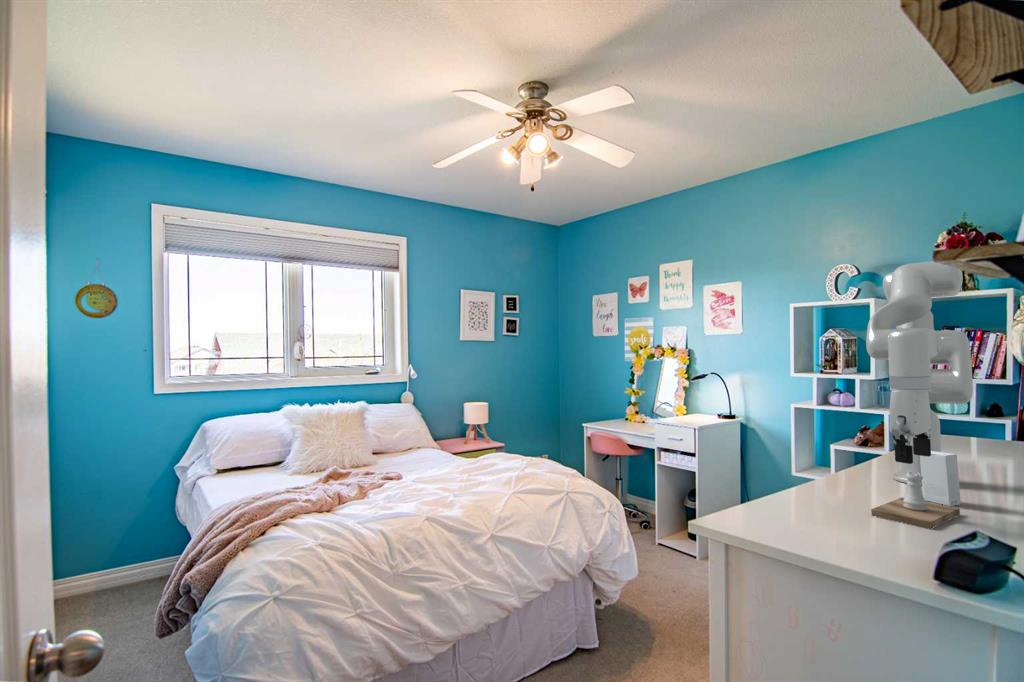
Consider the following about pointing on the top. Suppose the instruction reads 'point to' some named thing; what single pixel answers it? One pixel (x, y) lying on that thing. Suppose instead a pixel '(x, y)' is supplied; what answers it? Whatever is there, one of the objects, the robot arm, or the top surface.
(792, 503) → the top surface
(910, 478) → the rook chess piece
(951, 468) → the skincare box
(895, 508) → the walnut board
